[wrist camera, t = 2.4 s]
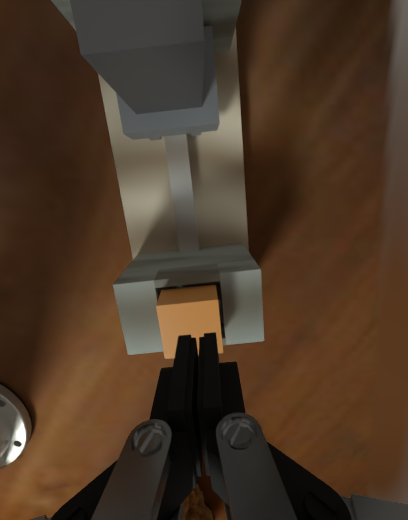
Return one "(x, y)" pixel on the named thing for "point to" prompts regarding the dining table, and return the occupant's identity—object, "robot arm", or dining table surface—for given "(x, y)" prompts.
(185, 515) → the stuffed squirrel
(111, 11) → the block
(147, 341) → the grey block assembly
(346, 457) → the dining table surface
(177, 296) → the button
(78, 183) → the dining table surface
